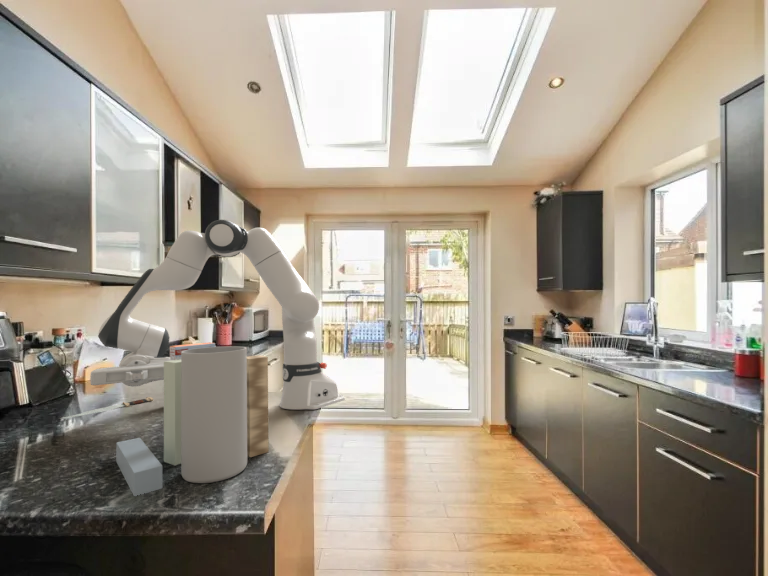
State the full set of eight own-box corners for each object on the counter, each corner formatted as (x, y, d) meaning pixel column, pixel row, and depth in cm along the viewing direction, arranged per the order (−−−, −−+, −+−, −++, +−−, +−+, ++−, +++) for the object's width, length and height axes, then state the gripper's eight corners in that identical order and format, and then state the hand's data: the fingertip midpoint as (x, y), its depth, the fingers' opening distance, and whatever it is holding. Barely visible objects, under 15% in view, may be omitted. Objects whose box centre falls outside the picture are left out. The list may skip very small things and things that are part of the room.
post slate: (139, 437, 90) (162, 465, 73) (139, 457, 89) (162, 490, 73) (116, 442, 87) (134, 473, 70) (116, 462, 86) (134, 498, 70)
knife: (62, 419, 120) (58, 414, 123) (62, 424, 120) (58, 419, 123) (156, 399, 141) (150, 395, 144) (155, 403, 142) (150, 399, 145)
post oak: (260, 447, 93) (259, 355, 94) (268, 451, 90) (267, 356, 91) (241, 452, 90) (241, 357, 91) (249, 457, 87) (249, 358, 88)
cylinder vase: (178, 490, 72) (178, 355, 73) (183, 465, 83) (183, 348, 84) (249, 477, 77) (248, 350, 78) (245, 455, 88) (244, 345, 89)
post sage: (183, 454, 90) (183, 358, 90) (194, 458, 87) (194, 360, 88) (163, 461, 86) (163, 361, 87) (175, 465, 83) (175, 362, 84)
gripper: (91, 362, 107) (86, 369, 95) (175, 356, 118) (180, 361, 107) (91, 385, 107) (86, 395, 95) (175, 377, 118) (180, 384, 106)
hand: (136, 377), depth 101 cm, fingers closed
